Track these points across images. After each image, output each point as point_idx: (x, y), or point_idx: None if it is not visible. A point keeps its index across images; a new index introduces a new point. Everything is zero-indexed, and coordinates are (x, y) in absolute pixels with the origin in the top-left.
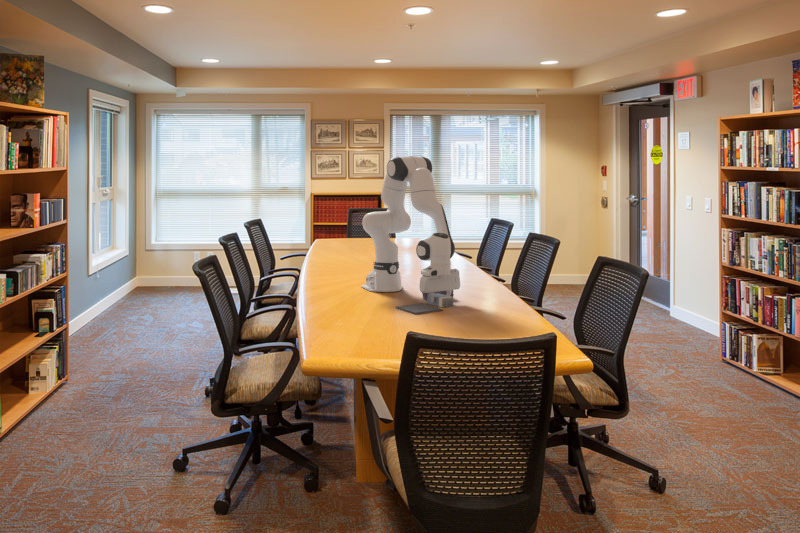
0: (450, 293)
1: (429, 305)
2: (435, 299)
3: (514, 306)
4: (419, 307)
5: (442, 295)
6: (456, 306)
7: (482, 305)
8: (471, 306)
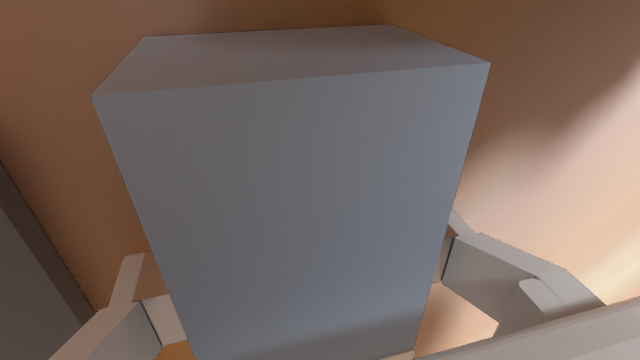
0: (502, 314)
1: (60, 315)
2: None
3: None
4: None
5: (371, 293)
6: None
7: None
8: (462, 324)
